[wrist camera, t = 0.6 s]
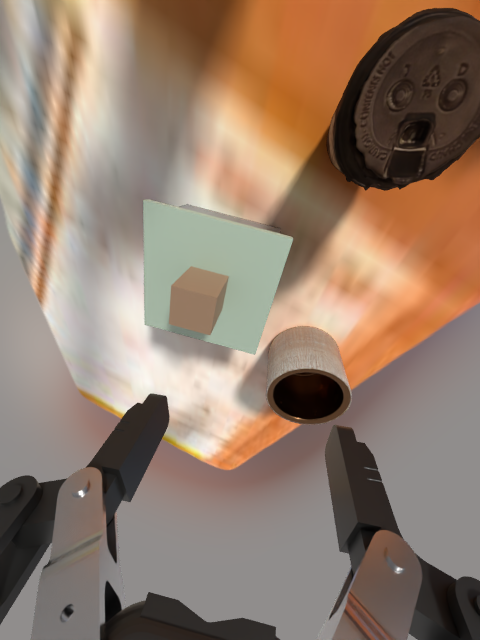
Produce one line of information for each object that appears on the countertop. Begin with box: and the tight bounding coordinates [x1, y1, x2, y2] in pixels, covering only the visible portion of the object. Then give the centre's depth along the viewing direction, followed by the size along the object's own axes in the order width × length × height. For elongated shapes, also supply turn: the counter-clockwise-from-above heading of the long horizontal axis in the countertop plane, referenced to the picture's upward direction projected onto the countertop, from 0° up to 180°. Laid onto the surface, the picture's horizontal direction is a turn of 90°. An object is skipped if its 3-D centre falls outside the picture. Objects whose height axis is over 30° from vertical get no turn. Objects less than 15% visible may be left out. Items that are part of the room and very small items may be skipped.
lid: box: [143, 199, 293, 355], centre depth 24 cm, size 14×14×7 cm
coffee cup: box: [327, 8, 480, 191], centre depth 18 cm, size 9×8×13 cm
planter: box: [266, 326, 352, 425], centre depth 34 cm, size 11×11×10 cm
